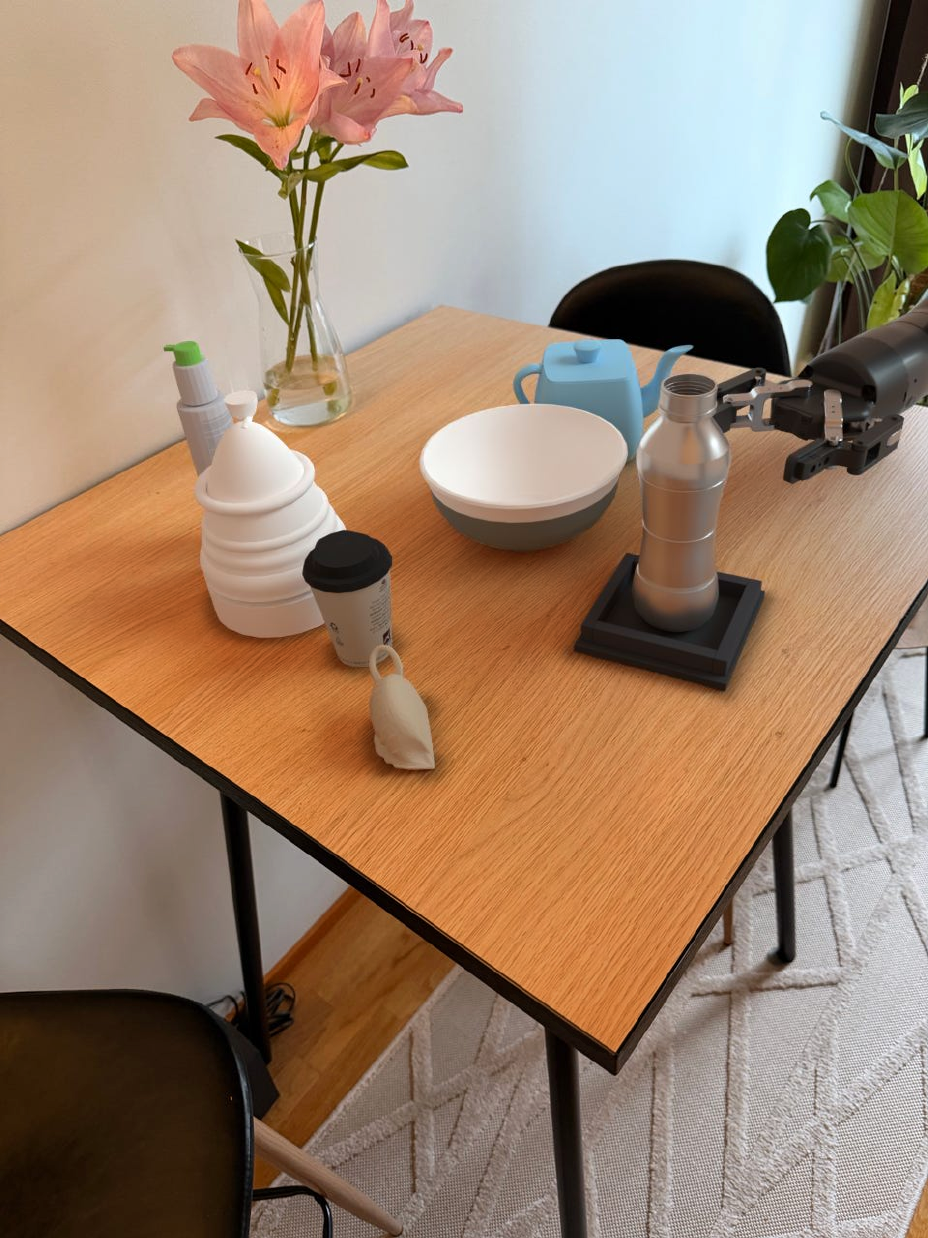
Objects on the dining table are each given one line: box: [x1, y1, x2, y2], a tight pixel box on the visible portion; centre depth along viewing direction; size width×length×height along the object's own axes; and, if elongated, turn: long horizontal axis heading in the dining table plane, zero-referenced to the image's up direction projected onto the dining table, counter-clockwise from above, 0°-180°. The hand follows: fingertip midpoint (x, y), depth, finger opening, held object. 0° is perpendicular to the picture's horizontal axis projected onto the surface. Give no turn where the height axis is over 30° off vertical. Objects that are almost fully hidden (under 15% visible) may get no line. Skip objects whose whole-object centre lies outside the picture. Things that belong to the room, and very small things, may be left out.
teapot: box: [512, 338, 694, 463], centre depth 94 cm, size 12×18×12 cm
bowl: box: [418, 403, 628, 553], centre depth 84 cm, size 19×19×8 cm
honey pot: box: [193, 389, 347, 639], centre depth 76 cm, size 13×13×18 cm
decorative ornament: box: [368, 645, 436, 770], centre depth 65 cm, size 4×8×5 cm, turn 6°
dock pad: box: [573, 552, 766, 692], centre depth 73 cm, size 12×12×2 cm
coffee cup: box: [302, 529, 393, 668], centre depth 71 cm, size 7×7×10 cm
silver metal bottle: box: [632, 372, 732, 632], centre depth 67 cm, size 6×7×20 cm
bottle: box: [163, 340, 235, 478], centre depth 82 cm, size 4×4×20 cm
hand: (740, 451), depth 68 cm, fingers open, 8 cm apart
